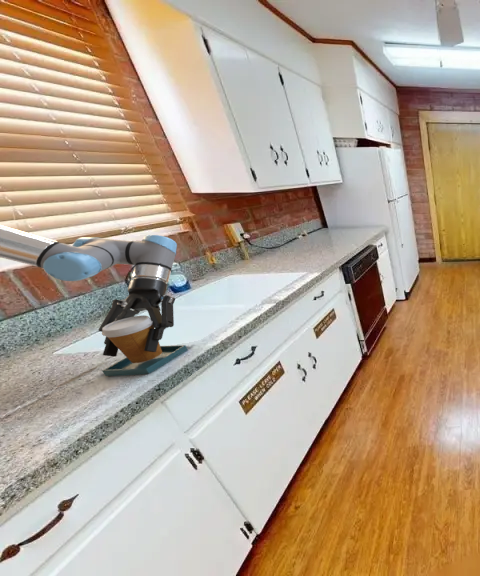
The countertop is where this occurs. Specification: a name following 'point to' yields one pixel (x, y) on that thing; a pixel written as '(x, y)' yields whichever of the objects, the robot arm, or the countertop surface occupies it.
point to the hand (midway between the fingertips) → (130, 353)
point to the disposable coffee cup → (132, 337)
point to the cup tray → (148, 366)
